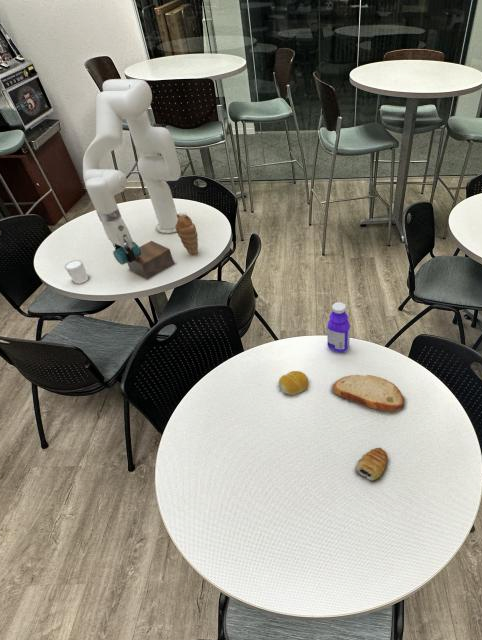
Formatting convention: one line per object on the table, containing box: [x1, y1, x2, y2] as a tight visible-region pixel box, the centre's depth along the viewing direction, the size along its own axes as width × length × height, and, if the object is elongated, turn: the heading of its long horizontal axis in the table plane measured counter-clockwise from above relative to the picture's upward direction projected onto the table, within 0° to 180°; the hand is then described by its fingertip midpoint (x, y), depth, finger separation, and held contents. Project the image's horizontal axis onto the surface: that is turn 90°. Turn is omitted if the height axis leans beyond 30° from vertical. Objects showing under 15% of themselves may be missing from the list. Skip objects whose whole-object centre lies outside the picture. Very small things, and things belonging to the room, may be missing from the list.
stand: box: [126, 240, 175, 280], centre depth 176 cm, size 14×12×7 cm
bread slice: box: [332, 374, 405, 412], centre depth 126 cm, size 18×18×4 cm
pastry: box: [354, 447, 389, 481], centre depth 110 cm, size 9×7×4 cm
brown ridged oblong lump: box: [175, 213, 199, 256], centre depth 178 cm, size 9×8×18 cm
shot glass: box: [64, 259, 89, 284], centre depth 171 cm, size 7×7×7 cm
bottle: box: [326, 302, 351, 354], centre depth 135 cm, size 7×6×17 cm
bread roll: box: [278, 370, 309, 396], centre depth 130 cm, size 8×9×4 cm
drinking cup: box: [112, 241, 141, 266], centre depth 167 cm, size 8×6×6 cm
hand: (127, 258), depth 167 cm, fingers closed on drinking cup, 5 cm apart
